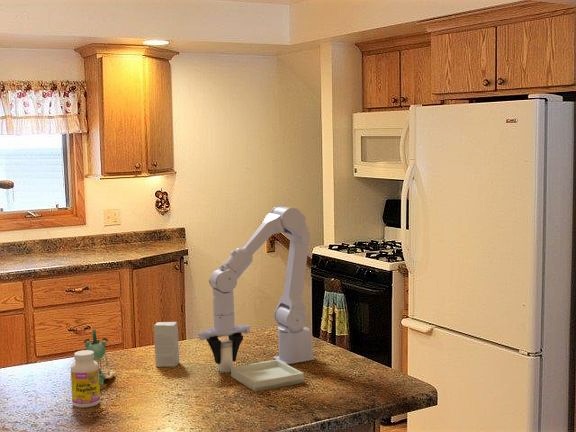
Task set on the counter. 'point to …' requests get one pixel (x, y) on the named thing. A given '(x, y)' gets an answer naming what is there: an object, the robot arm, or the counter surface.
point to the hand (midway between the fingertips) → (225, 361)
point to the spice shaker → (226, 356)
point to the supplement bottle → (85, 380)
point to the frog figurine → (99, 357)
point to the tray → (267, 375)
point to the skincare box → (166, 344)
